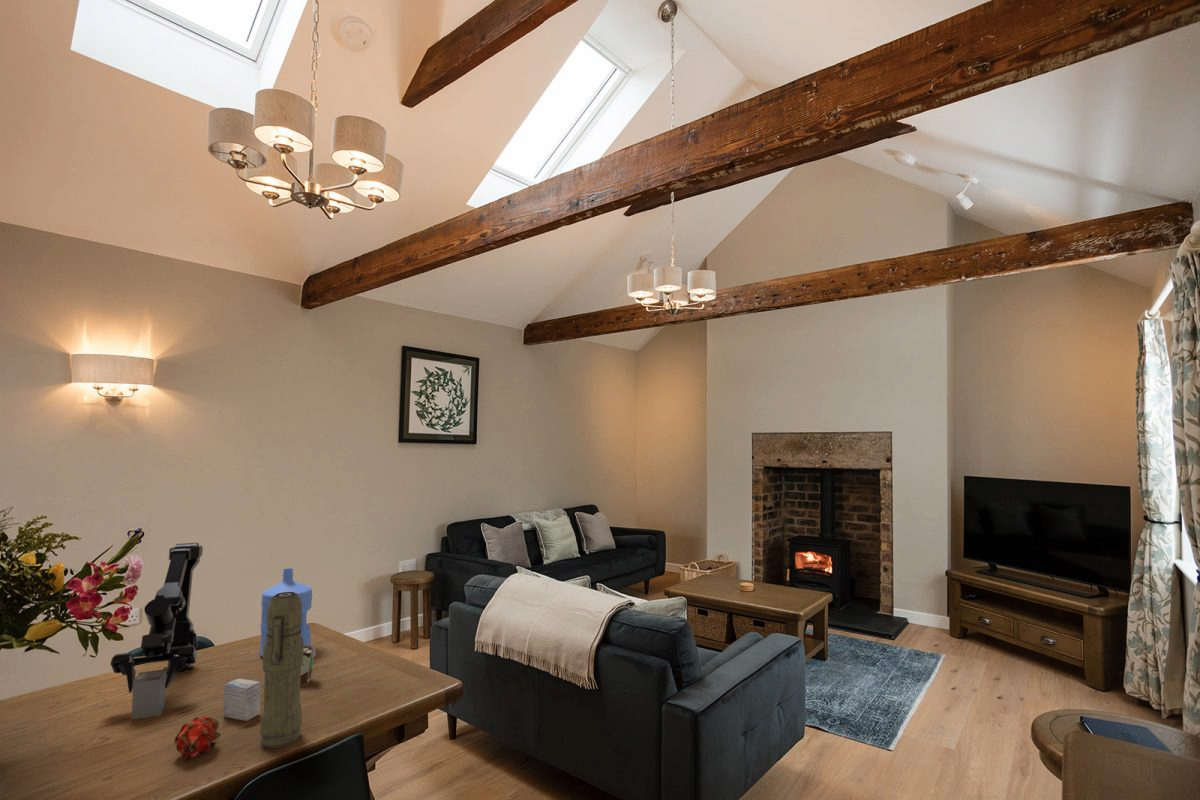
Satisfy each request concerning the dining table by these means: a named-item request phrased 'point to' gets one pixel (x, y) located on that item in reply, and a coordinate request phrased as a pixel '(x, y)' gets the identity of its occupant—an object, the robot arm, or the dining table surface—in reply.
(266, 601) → the water jug
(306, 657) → the food container
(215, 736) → the dragon fruit
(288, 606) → the thermos
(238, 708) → the medicine box
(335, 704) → the dining table surface
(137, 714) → the grey bordered box
